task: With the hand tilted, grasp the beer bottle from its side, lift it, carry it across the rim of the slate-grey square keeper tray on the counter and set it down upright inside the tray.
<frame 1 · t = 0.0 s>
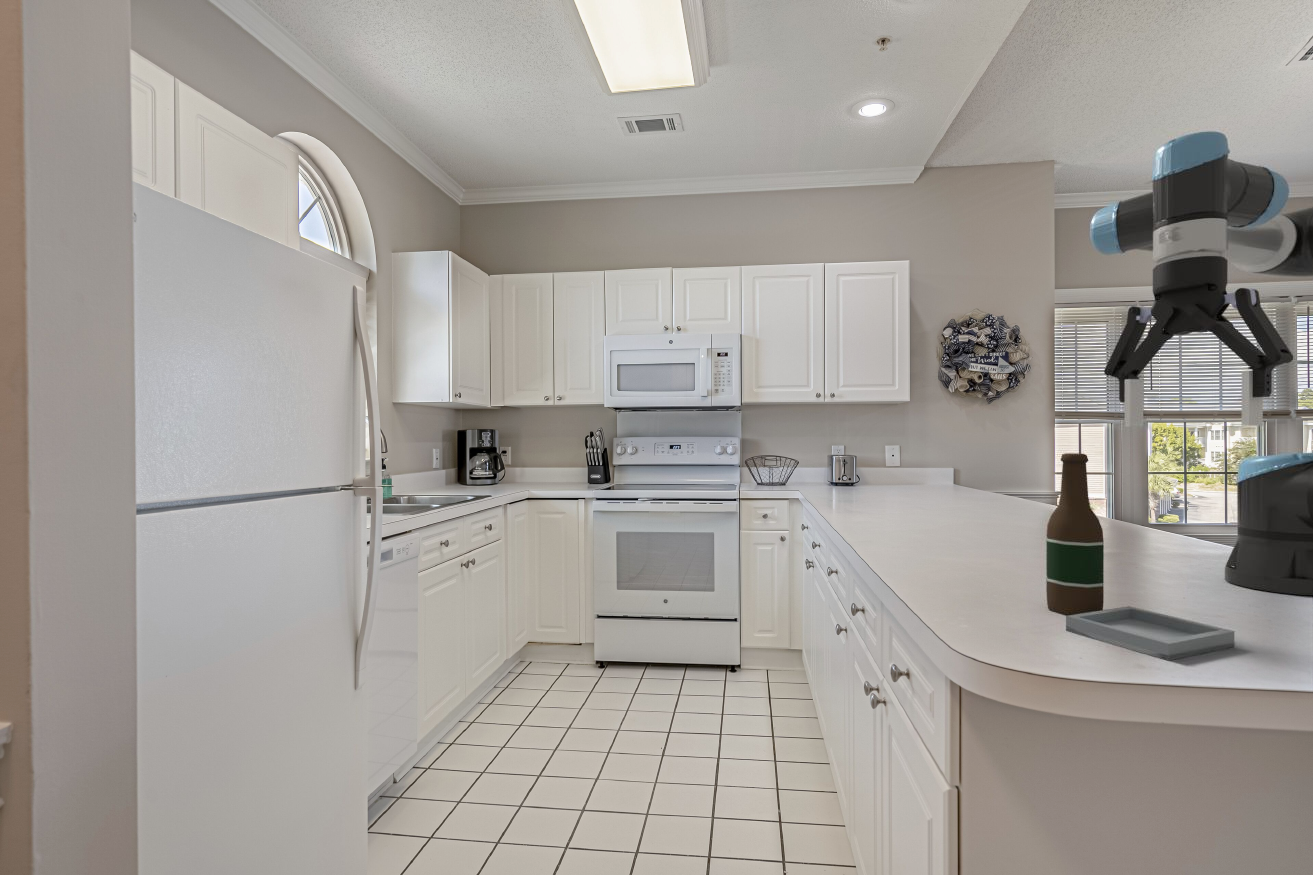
hand: (1188, 426, 86), 28 cm above the counter, tool pointing down, fingers open, 13 cm apart
keeper tray: (1146, 638, 88), on the counter
beer bottle: (1074, 611, 102), on the counter
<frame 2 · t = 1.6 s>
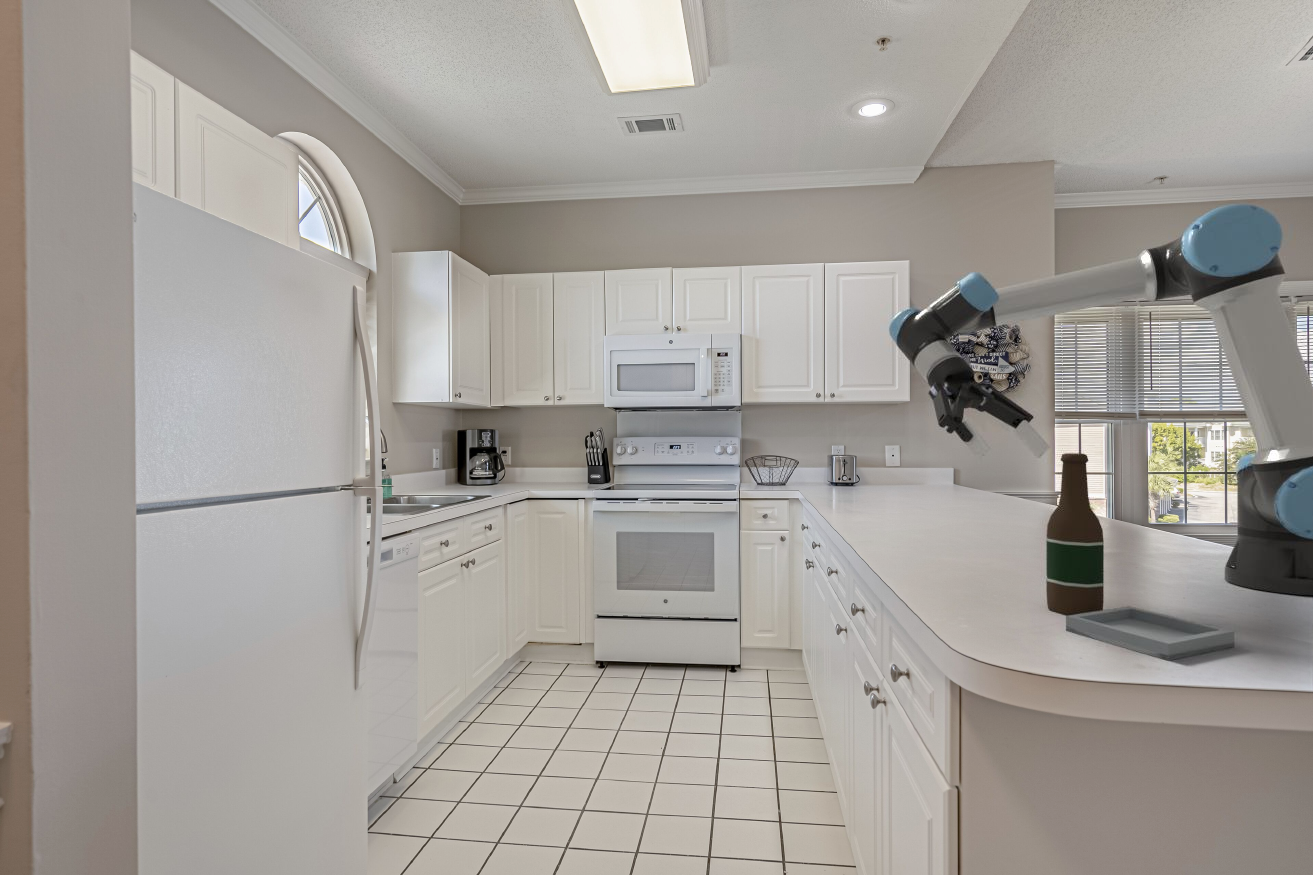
hand: (1015, 453, 111), 24 cm above the counter, tool tilted 45°, fingers open, 13 cm apart
nothing on the counter moved.
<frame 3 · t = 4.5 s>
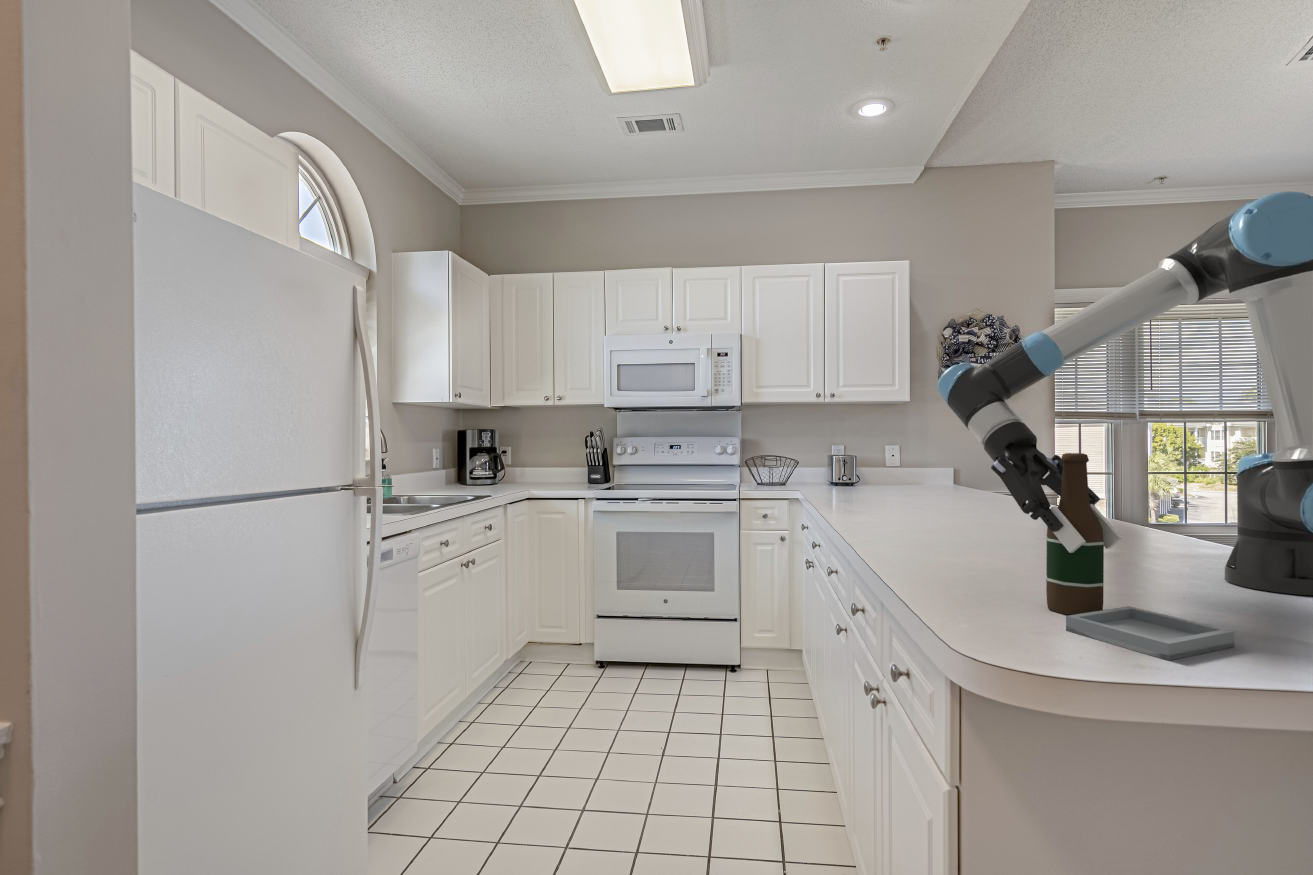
hand: (1096, 545, 98), 11 cm above the counter, tool tilted 45°, fingers closed on beer bottle, 7 cm apart
beer bottle: (1073, 611, 102), on the counter, touching gripper
when the fingers open (12 cm above the counter, at t = 10.2 s): beer bottle stays where it is, resting on keeper tray.
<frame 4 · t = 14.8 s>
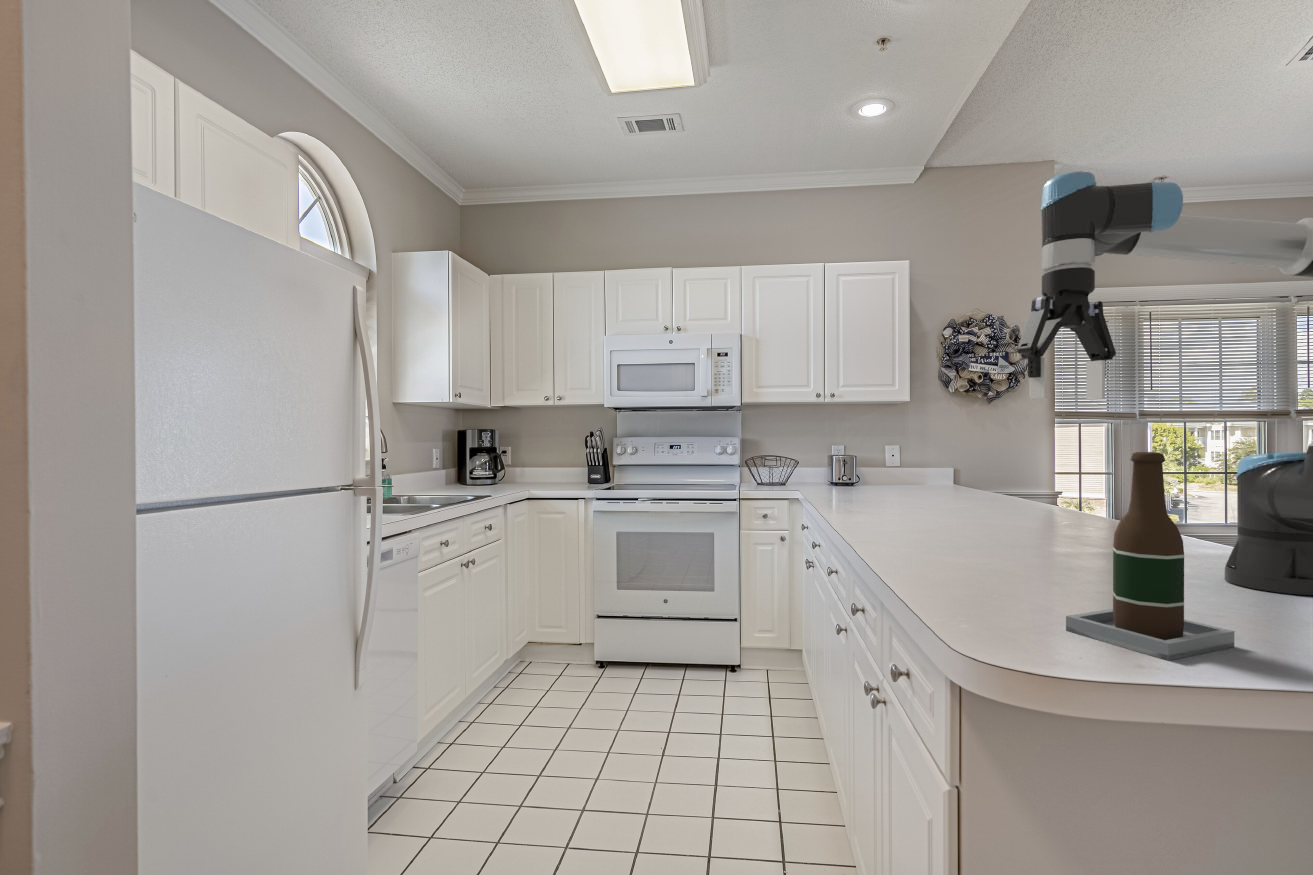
hand: (1067, 399, 111), 33 cm above the counter, tool pointing down, fingers open, 13 cm apart
beer bottle: (1147, 634, 88), resting on keeper tray
at the end: beer bottle inside the target area on the keeper tray (0.3 cm from its centre), point 0.4 cm above the keeper tray's base; beer bottle tilted 0°; the gripper is holding nothing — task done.
